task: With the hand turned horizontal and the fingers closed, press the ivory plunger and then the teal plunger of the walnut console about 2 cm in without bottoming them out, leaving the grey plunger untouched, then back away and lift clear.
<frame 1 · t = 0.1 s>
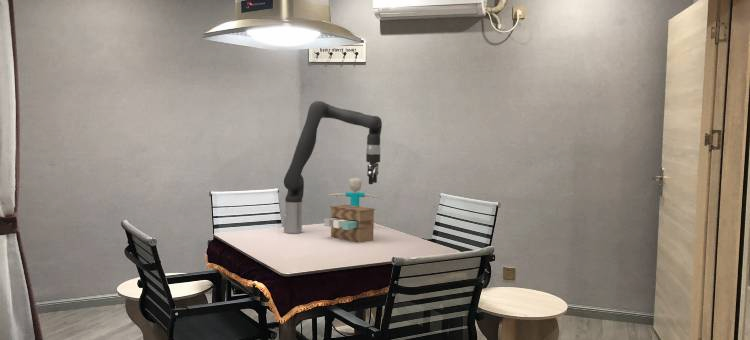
hand: (372, 183, 355), 29 cm above the table, tool pointing down, fingers open, 8 cm apart
toy: (354, 228, 387), on the table
console: (351, 238, 352), on the table
grey key: (332, 221, 351), point 9 cm above the table, slide at 0.0 cm
teal key: (351, 225, 341), point 9 cm above the table, slide at 0.0 cm
ivory key: (341, 223, 346), point 9 cm above the table, slide at 0.0 cm
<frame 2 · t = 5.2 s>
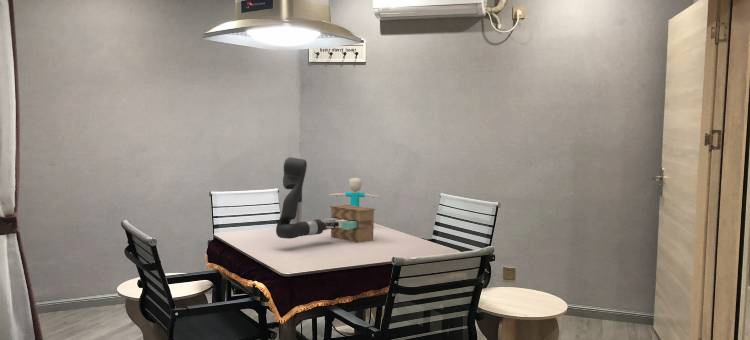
hand: (337, 224, 344), 9 cm above the table, tool horizontal, fingers closed
ivory key: (343, 223, 347), point 9 cm above the table, slide at 1.4 cm, touching gripper
everything else where it was.
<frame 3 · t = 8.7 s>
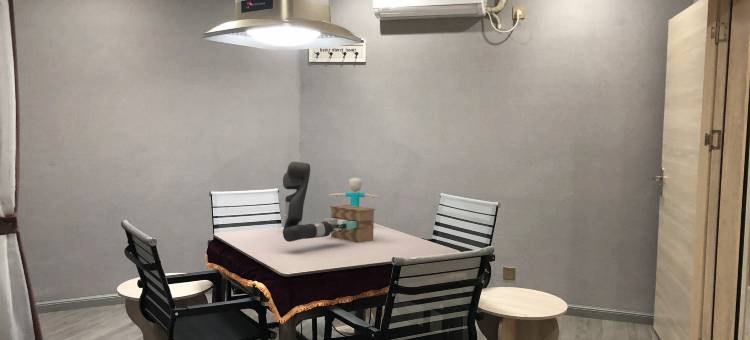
hand: (345, 226, 338), 9 cm above the table, tool horizontal, fingers closed
teal key: (351, 225, 341), point 9 cm above the table, slide at 0.0 cm, touching gripper
ivory key: (346, 222, 348), point 9 cm above the table, slide at 3.0 cm
everything else where it was.
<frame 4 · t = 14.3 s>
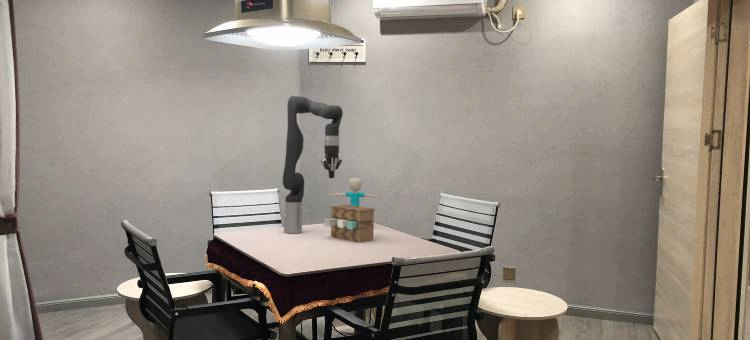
hand: (331, 178, 339), 33 cm above the table, tool pointing down, fingers closed
teal key: (355, 224, 343), point 9 cm above the table, slide at 3.0 cm
everything else where it was.
at the end: ivory key slide at 3.0 cm; teal key slide at 3.0 cm; grey key slide at 0.0 cm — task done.
